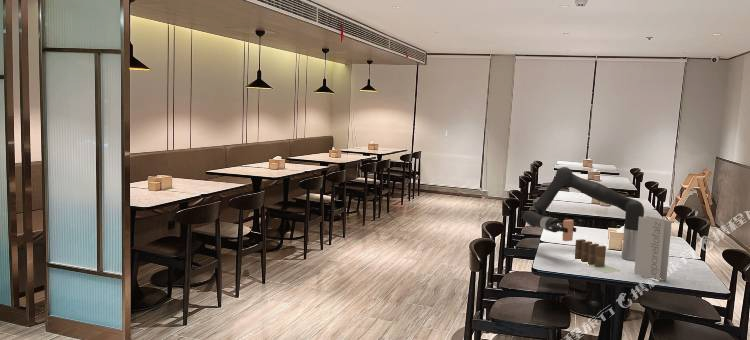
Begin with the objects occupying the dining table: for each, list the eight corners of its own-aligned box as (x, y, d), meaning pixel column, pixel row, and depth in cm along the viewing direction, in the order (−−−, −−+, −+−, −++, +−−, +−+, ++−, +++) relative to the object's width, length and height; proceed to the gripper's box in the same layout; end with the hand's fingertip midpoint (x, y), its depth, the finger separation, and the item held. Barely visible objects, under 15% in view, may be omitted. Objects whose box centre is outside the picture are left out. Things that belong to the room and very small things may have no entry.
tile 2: (574, 259, 313) (575, 239, 312) (581, 258, 315) (583, 239, 314) (577, 260, 311) (578, 240, 310) (584, 259, 313) (585, 240, 312)
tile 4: (587, 263, 304) (589, 243, 303) (594, 263, 306) (596, 243, 305) (590, 264, 302) (591, 244, 301) (597, 264, 304) (599, 244, 303)
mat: (558, 255, 321) (558, 255, 321) (573, 254, 326) (573, 253, 325) (605, 273, 288) (605, 272, 288) (621, 271, 292) (622, 270, 292)
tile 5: (594, 266, 299) (595, 246, 298) (601, 265, 301) (603, 245, 300) (597, 267, 298) (598, 247, 296) (604, 266, 300) (606, 246, 298)
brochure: (634, 274, 289) (638, 216, 286) (641, 273, 291) (646, 215, 288) (659, 282, 276) (664, 221, 273) (666, 280, 279) (671, 221, 276)
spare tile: (562, 240, 302) (563, 220, 301) (569, 239, 304) (570, 219, 303) (565, 241, 300) (566, 220, 299) (572, 240, 302) (573, 220, 301)
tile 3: (580, 261, 309) (582, 241, 307) (588, 260, 311) (589, 241, 309) (583, 262, 307) (585, 242, 306) (590, 261, 309) (592, 242, 308)
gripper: (540, 218, 311) (561, 224, 296) (560, 216, 317) (582, 222, 301) (539, 231, 312) (560, 238, 296) (560, 230, 317) (581, 236, 302)
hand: (571, 230), depth 299 cm, fingers closed on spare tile, 5 cm apart
